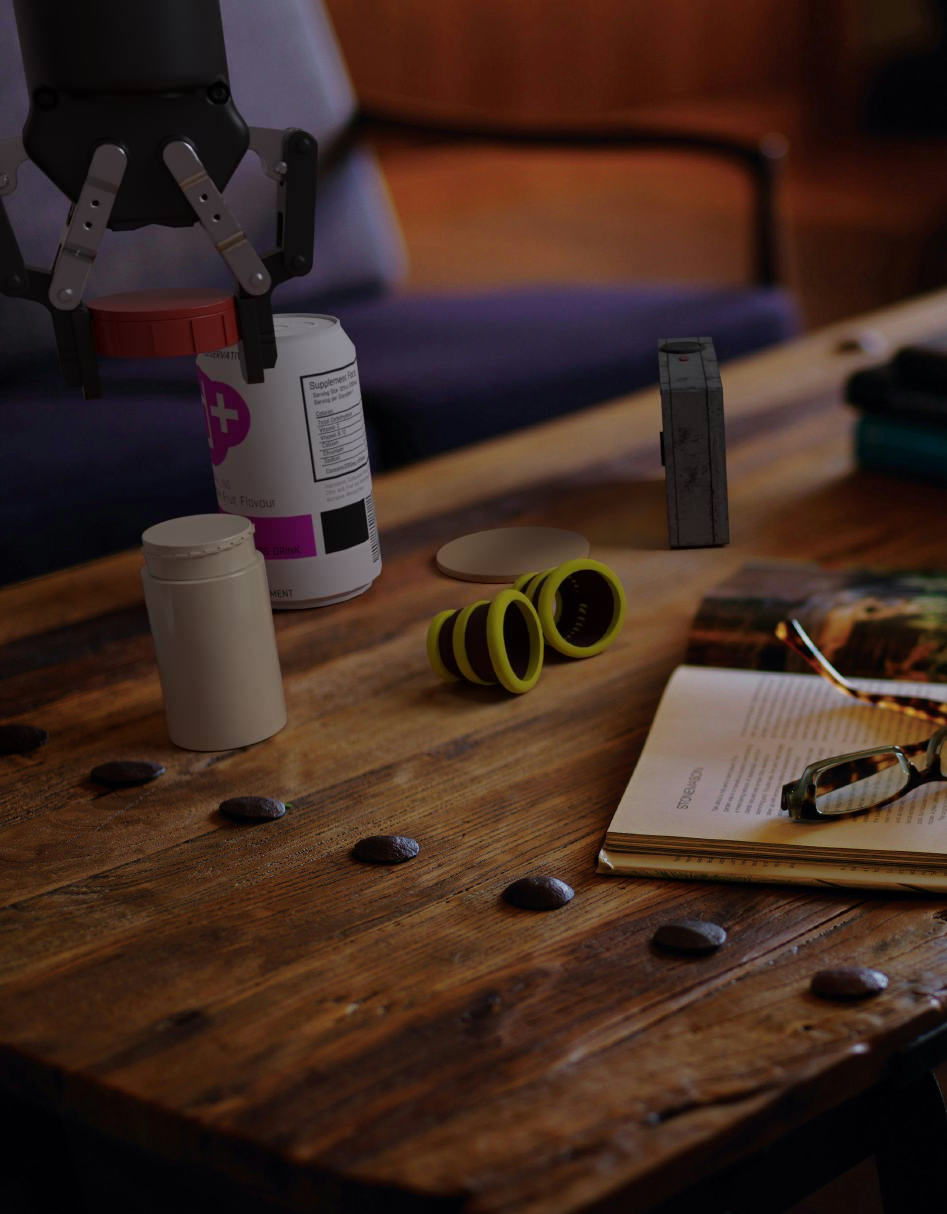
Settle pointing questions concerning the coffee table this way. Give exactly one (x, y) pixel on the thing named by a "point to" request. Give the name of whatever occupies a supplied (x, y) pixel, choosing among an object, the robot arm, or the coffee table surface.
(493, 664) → the opera glasses
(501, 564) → the coaster
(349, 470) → the supplement can
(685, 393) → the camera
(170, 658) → the jar
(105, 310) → the jar lid
